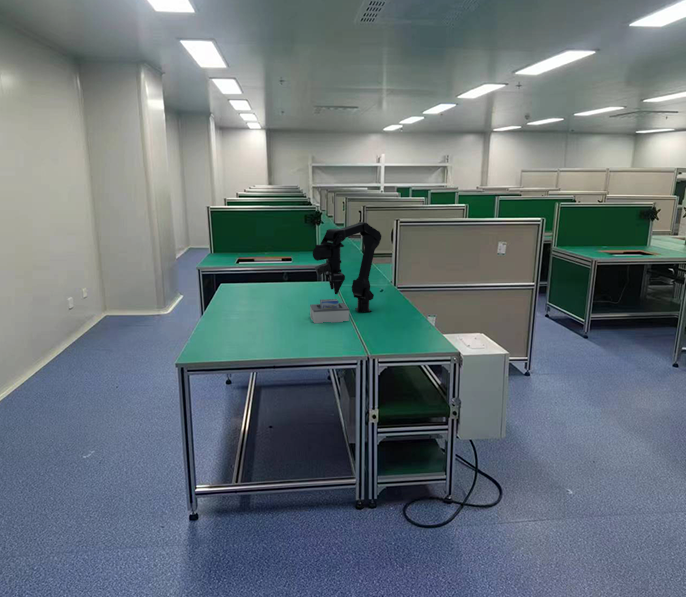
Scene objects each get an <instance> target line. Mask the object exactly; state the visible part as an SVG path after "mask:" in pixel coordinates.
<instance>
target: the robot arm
mask: <svg viewBox="0 0 686 597" xmlns="http://www.w3.org/2000/svg"><path fill="white" fill-rule="evenodd" d="M357 234H359V235H360V236H361V237H362V243H363V247H364V249H363V254H362V258H361V263H360V268H359V272H358V277H357V278H356V279H353V280H352V285H351V286H350V287H351V293H352V295H353V298H355V299H357V302H356V303H357V306H356V307H355V310H356V311H357V313H371V312H372V310H371V309H370V301H372V300H373V299H374V295H375V294H374V293H373V292H372V291H371V283H370V280H369V278H370V275H371V269H372V265H373V264H372V263H373V259H374V256H375V250H376V249H377V248H378V246H380V243H381V241H382V234H381V232H380V231H379V230H377V228H374V227H373V226H371V225H370V224H369V223H368V222H364V221H359V222H356V223H354V224H350V225H348V226H345V227H342V228H329V229H327V230H326V232H325V234H324V236H323V238H322V240H321V241H320V244H315V247H314V248H313V250H312V257H313V260H314V261H317V262H318V261H319V262H320V261H324V260H325V263H324V262H323V263H321V264H318V265H317V266H315V267H314V269H315V272H316V275H317V276H321V275H322V274H324V275H325V277H327V278H328V282H329V286H330V290H333V291H334V295H338V294H339V292H340V289H341V287H342V285H343V283H344V282H345V281H346V275H345V274H344V273H343V272H342V269H341V264H342V260H341V248H344V247H345V245H344V244H343V243H342V242H344V241H345V240H346V238H349V237H352V236H354V235H357Z"/></svg>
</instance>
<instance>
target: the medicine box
mask: <svg viewBox="0 0 686 597" xmlns="http://www.w3.org/2000/svg"><path fill="white" fill-rule="evenodd" d="M339 303H340V302H339V300H338V298H332V299H331V298H329V299H327V298H326V299H319V304H320V309H335V308H339Z"/></svg>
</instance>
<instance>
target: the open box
mask: <svg viewBox="0 0 686 597" xmlns="http://www.w3.org/2000/svg"><path fill="white" fill-rule="evenodd" d="M309 312H310V316H309V317H310V319H311V320H313V321H312V323H313V322H314V323H313V324H324V323H323V322H331V323H344V322H343V321H350V308H349V307H348V306H347V304H345V302H339V308H335V309H320V303H316V304H310V308H309Z"/></svg>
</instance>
